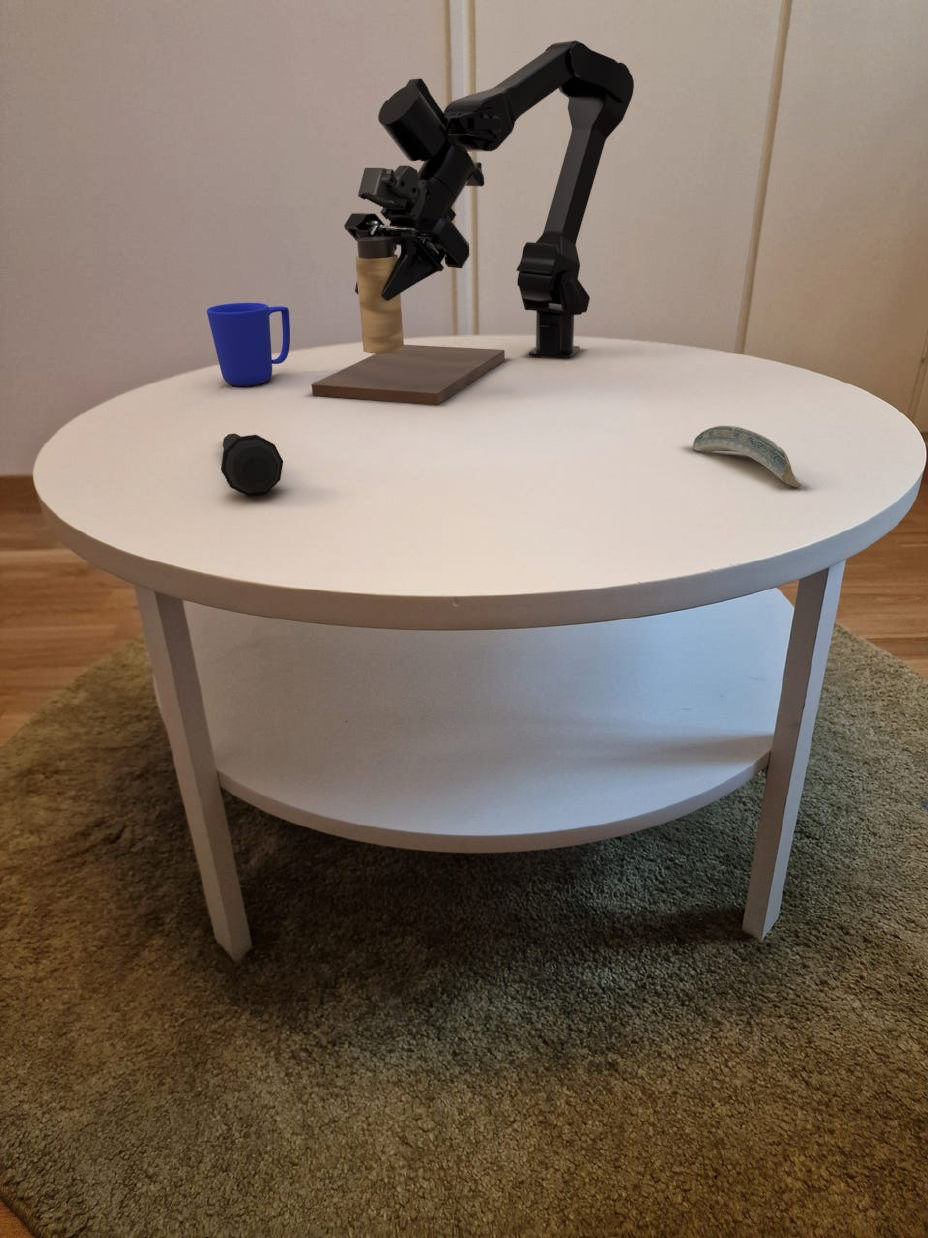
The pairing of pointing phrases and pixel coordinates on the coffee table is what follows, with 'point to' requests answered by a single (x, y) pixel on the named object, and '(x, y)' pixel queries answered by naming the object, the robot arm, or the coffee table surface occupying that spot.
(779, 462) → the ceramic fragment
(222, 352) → the mug
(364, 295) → the pepper mill
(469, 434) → the coffee table surface
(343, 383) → the cutting board
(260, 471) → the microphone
